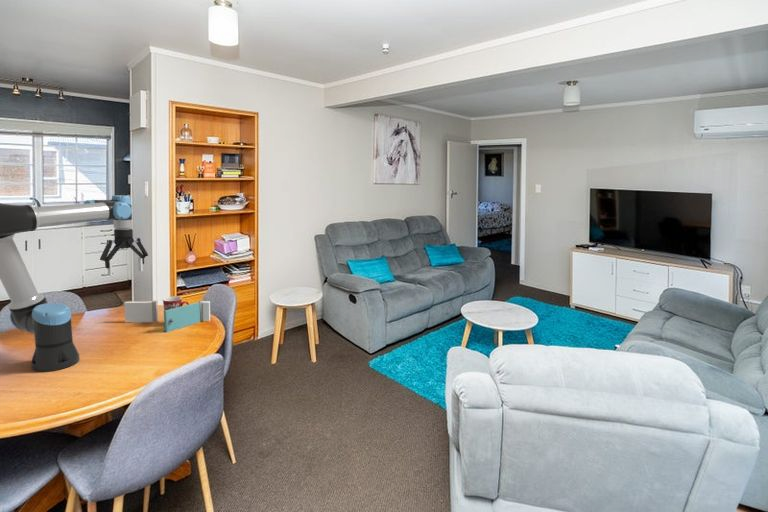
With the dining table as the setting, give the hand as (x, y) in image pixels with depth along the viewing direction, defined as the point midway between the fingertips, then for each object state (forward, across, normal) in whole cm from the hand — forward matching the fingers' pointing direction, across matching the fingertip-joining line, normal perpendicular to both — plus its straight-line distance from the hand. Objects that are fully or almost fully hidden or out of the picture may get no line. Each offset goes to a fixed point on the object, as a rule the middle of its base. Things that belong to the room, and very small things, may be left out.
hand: (125, 273), depth 203 cm
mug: (+29, -20, +6) cm, 36 cm away
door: (+29, -20, +14) cm, 38 cm away
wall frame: (+29, -20, 0) cm, 35 cm away
